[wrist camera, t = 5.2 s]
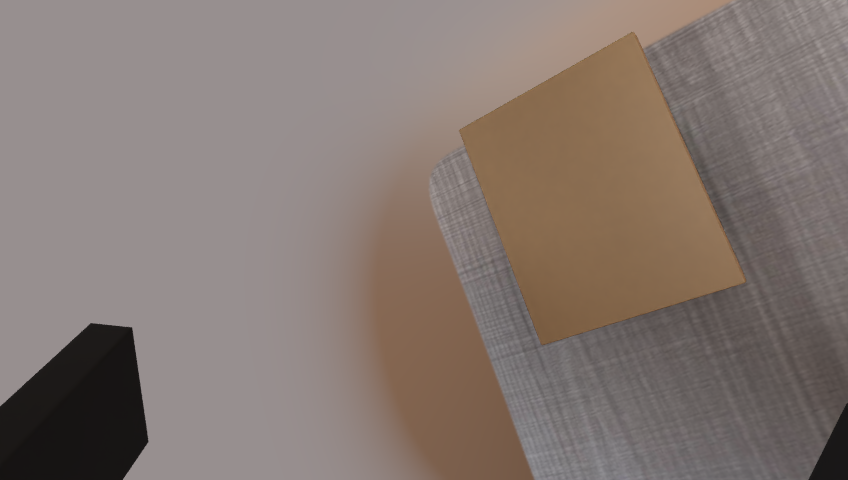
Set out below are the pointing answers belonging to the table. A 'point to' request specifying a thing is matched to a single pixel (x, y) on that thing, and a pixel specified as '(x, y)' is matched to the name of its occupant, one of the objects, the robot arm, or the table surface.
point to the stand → (598, 197)
